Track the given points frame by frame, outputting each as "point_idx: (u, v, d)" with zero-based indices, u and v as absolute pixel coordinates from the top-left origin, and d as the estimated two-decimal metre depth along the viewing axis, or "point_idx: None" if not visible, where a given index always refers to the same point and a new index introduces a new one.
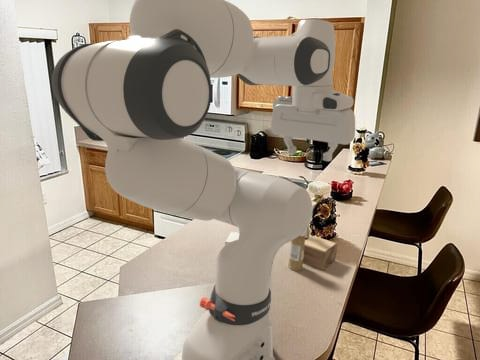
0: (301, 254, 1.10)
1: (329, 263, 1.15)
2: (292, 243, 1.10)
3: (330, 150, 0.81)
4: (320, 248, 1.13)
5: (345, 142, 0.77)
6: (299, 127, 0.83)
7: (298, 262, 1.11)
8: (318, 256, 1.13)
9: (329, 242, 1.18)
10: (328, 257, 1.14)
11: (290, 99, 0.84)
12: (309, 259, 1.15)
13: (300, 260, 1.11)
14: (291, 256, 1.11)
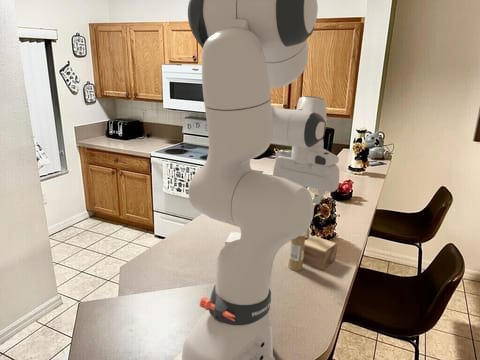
0: (301, 254, 1.10)
1: (329, 263, 1.15)
2: (292, 243, 1.10)
3: (319, 195, 1.03)
4: (320, 248, 1.13)
5: (331, 190, 0.99)
6: (296, 175, 1.05)
7: (298, 262, 1.11)
8: (318, 256, 1.13)
9: (329, 242, 1.18)
10: (328, 257, 1.14)
11: (289, 153, 1.07)
12: (309, 259, 1.15)
13: (300, 260, 1.11)
14: (291, 256, 1.11)
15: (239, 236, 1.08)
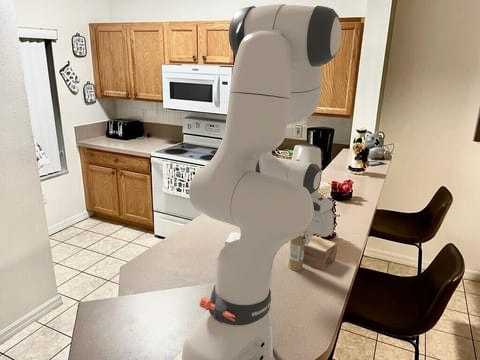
0: (301, 254, 1.10)
1: (329, 263, 1.15)
2: (292, 243, 1.10)
3: (308, 237, 1.07)
4: (320, 248, 1.13)
5: (325, 235, 1.03)
6: None
7: (298, 262, 1.11)
8: (318, 256, 1.13)
9: (329, 242, 1.18)
10: (328, 257, 1.14)
11: None
12: (309, 259, 1.15)
13: (300, 260, 1.11)
14: (291, 256, 1.11)
15: (239, 236, 1.08)
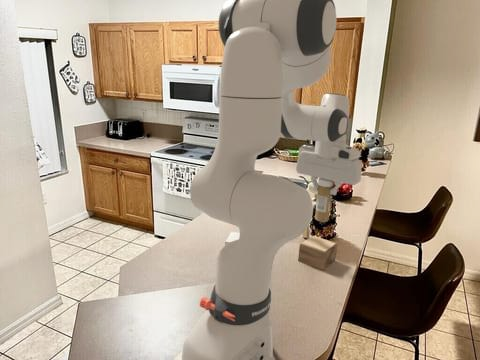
0: (328, 205, 1.12)
1: (329, 263, 1.15)
2: (319, 194, 1.12)
3: (336, 187, 1.09)
4: (320, 248, 1.13)
5: (353, 183, 1.04)
6: (319, 169, 1.10)
7: (325, 214, 1.12)
8: (318, 256, 1.13)
9: (329, 242, 1.18)
10: (328, 257, 1.14)
11: (313, 148, 1.12)
12: (309, 259, 1.15)
13: (327, 211, 1.12)
14: (318, 208, 1.13)
15: None
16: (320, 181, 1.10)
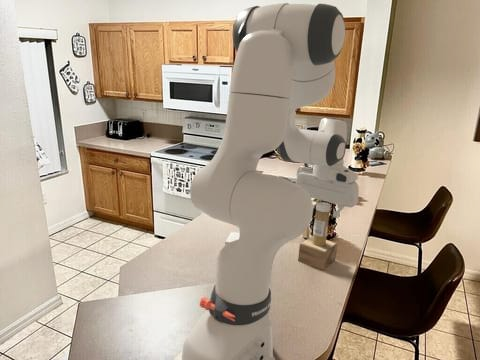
0: (325, 230, 1.14)
1: (329, 263, 1.15)
2: (317, 219, 1.13)
3: (339, 210, 1.09)
4: (320, 248, 1.13)
5: (351, 206, 1.06)
6: (317, 191, 1.12)
7: (322, 238, 1.14)
8: (318, 256, 1.13)
9: (329, 242, 1.18)
10: (328, 257, 1.14)
11: (311, 170, 1.13)
12: (309, 259, 1.15)
13: (324, 236, 1.14)
14: (315, 232, 1.14)
15: None
16: (318, 206, 1.12)
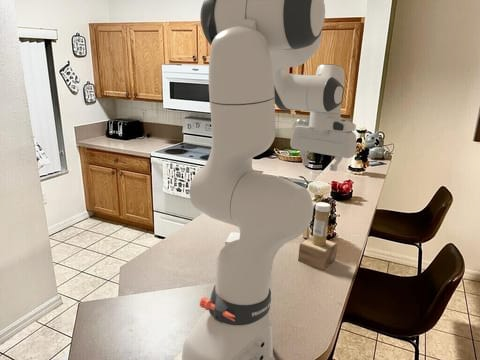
0: (325, 230, 1.14)
1: (329, 263, 1.15)
2: (316, 219, 1.13)
3: (336, 162, 1.05)
4: (320, 248, 1.13)
5: (348, 156, 1.02)
6: (313, 143, 1.08)
7: (322, 238, 1.14)
8: (318, 256, 1.13)
9: (329, 242, 1.18)
10: (328, 257, 1.14)
11: (307, 122, 1.10)
12: (309, 259, 1.15)
13: (324, 236, 1.14)
14: (315, 232, 1.14)
15: (239, 236, 1.08)
16: (317, 206, 1.12)
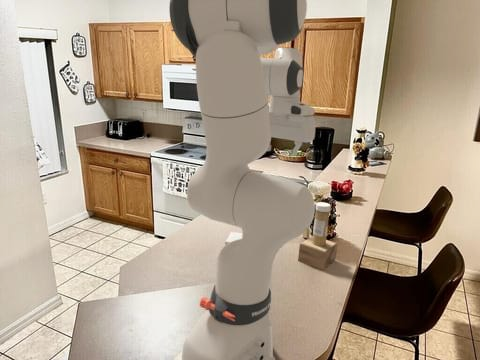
0: (325, 230, 1.14)
1: (329, 263, 1.15)
2: (316, 219, 1.13)
3: (296, 147, 1.05)
4: (320, 248, 1.13)
5: (306, 140, 1.01)
6: (273, 128, 1.07)
7: (322, 238, 1.14)
8: (318, 256, 1.13)
9: (329, 242, 1.18)
10: (328, 257, 1.14)
11: (268, 107, 1.09)
12: (309, 259, 1.15)
13: (324, 236, 1.14)
14: (315, 232, 1.14)
15: (239, 236, 1.08)
16: (317, 206, 1.12)
